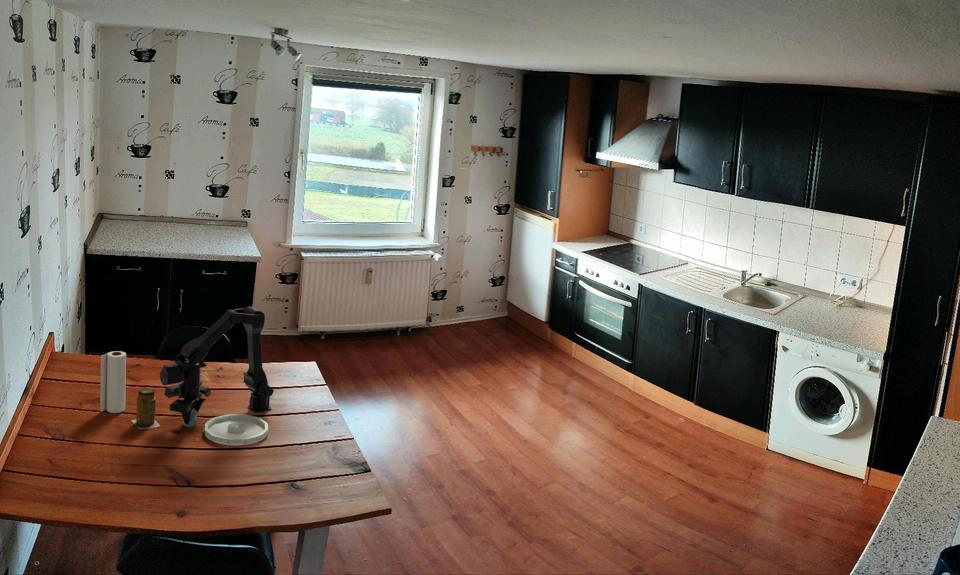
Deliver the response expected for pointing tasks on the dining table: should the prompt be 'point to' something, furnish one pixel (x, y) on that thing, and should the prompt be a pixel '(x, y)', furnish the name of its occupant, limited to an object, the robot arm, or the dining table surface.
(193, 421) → the blue-grey short cylinder
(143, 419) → the condiment
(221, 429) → the tray
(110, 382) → the paper towel roll
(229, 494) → the dining table surface
